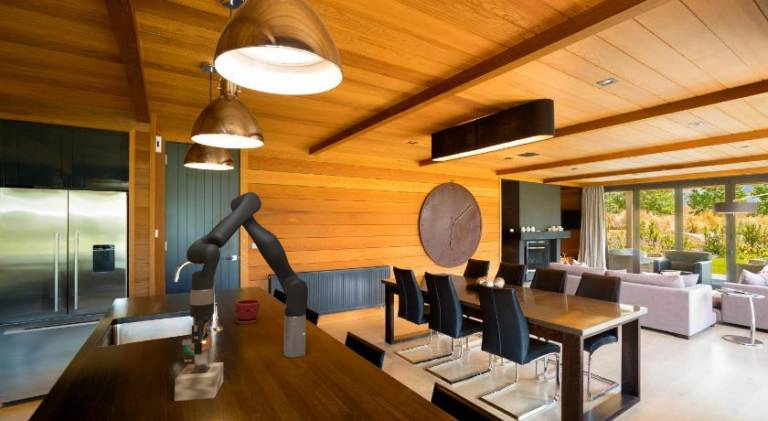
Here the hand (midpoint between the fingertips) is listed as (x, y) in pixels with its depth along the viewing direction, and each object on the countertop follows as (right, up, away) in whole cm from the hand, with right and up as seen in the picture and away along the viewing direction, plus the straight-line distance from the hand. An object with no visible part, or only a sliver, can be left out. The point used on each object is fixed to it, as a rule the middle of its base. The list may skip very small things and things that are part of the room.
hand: (201, 350), depth 124 cm
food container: (-15, -15, +27) cm, 34 cm away
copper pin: (0, -6, 0) cm, 6 cm away
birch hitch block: (0, -14, -1) cm, 14 cm away
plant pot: (-16, -16, +84) cm, 87 cm away
